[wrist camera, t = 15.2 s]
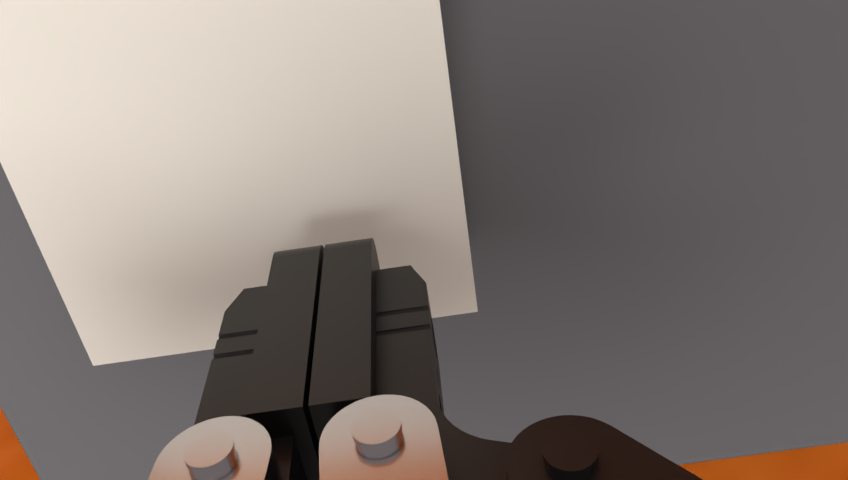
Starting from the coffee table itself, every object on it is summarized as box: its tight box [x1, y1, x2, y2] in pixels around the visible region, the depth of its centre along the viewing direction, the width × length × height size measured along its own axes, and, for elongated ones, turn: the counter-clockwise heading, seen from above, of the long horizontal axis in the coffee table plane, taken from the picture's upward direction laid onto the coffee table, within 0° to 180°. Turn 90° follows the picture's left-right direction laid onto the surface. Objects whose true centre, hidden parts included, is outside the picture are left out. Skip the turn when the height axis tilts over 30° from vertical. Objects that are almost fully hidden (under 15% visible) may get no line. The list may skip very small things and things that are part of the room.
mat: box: [0, 0, 848, 480], centre depth 16 cm, size 20×18×1 cm
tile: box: [0, 0, 478, 366], centre depth 13 cm, size 2×9×7 cm
